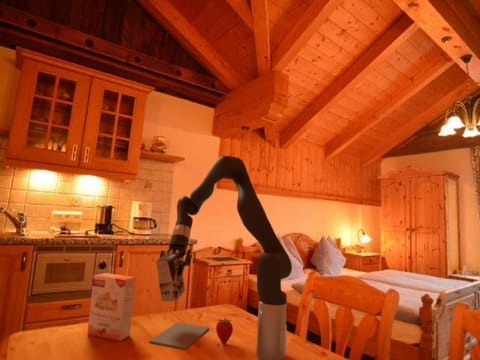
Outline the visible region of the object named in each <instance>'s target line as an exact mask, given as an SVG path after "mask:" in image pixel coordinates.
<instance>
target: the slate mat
mask: <svg viewBox="0 0 480 360" xmlns="http://www.w3.org/2000/svg"><path fill="white" fill-rule="evenodd" d="M209 330H210V327H208V326H202V325H197V324H190V323H185V322H180V321H177V322H176V323H174V324H172V325H171V326H170V327H168V328H166V329H165V330H163V331H162V332H160V333H158V334H157V335H156V336H154V337H153V338H151V339H149V342H148V343H150V344H154V345H159V346H165V347H170V348H175V349H179V350H184V351H187V350H188V349H189V348H190V347H191V346H192V345H193V344H195V343H196V342H197V341H198V340H199V339H201V337H202V336H204V335H205V333H207V332H208V331H209Z"/></svg>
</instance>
